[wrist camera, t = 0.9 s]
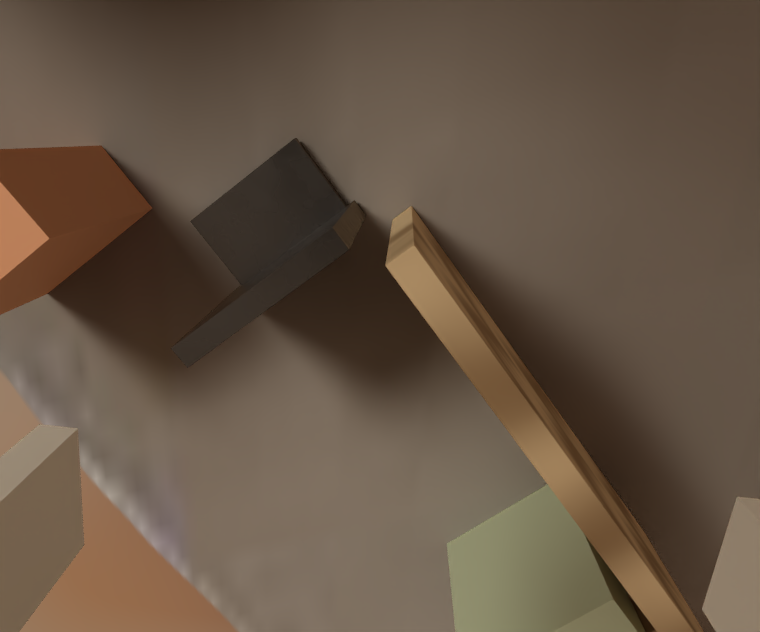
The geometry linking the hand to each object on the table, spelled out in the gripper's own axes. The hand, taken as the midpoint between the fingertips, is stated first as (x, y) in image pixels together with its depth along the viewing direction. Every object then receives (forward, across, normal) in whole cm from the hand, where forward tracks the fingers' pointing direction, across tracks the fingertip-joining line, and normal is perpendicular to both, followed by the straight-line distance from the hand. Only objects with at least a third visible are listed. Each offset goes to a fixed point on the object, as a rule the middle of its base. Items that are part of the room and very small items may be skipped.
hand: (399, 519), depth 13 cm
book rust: (+22, -18, +1) cm, 28 cm away
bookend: (+22, -7, +2) cm, 23 cm away
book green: (+22, +9, -16) cm, 28 cm away
